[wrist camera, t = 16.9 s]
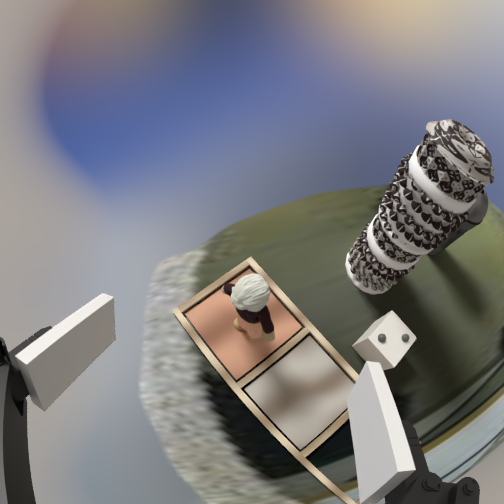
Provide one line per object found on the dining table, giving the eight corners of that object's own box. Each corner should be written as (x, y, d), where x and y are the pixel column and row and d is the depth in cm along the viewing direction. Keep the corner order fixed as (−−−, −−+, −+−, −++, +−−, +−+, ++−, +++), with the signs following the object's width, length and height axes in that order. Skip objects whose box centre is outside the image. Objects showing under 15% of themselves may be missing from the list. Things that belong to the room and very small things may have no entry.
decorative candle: (329, 262, 39) (411, 114, 17) (367, 231, 42) (443, 100, 20) (373, 309, 36) (499, 194, 14) (406, 272, 39) (509, 159, 17)
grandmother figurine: (282, 329, 34) (305, 293, 23) (264, 354, 32) (279, 330, 21) (232, 294, 36) (230, 243, 25) (213, 317, 34) (201, 275, 23)
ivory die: (397, 346, 33) (419, 336, 28) (375, 372, 31) (396, 366, 27) (374, 321, 35) (394, 308, 30) (351, 346, 33) (370, 336, 28)
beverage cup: (450, 254, 41) (519, 184, 23) (428, 268, 39) (504, 192, 22) (429, 222, 44) (488, 145, 27) (406, 232, 42) (469, 147, 25)
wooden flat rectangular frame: (418, 442, 26) (421, 442, 25) (353, 509, 22) (355, 510, 21) (250, 258, 39) (250, 256, 38) (173, 312, 34) (172, 310, 34)
